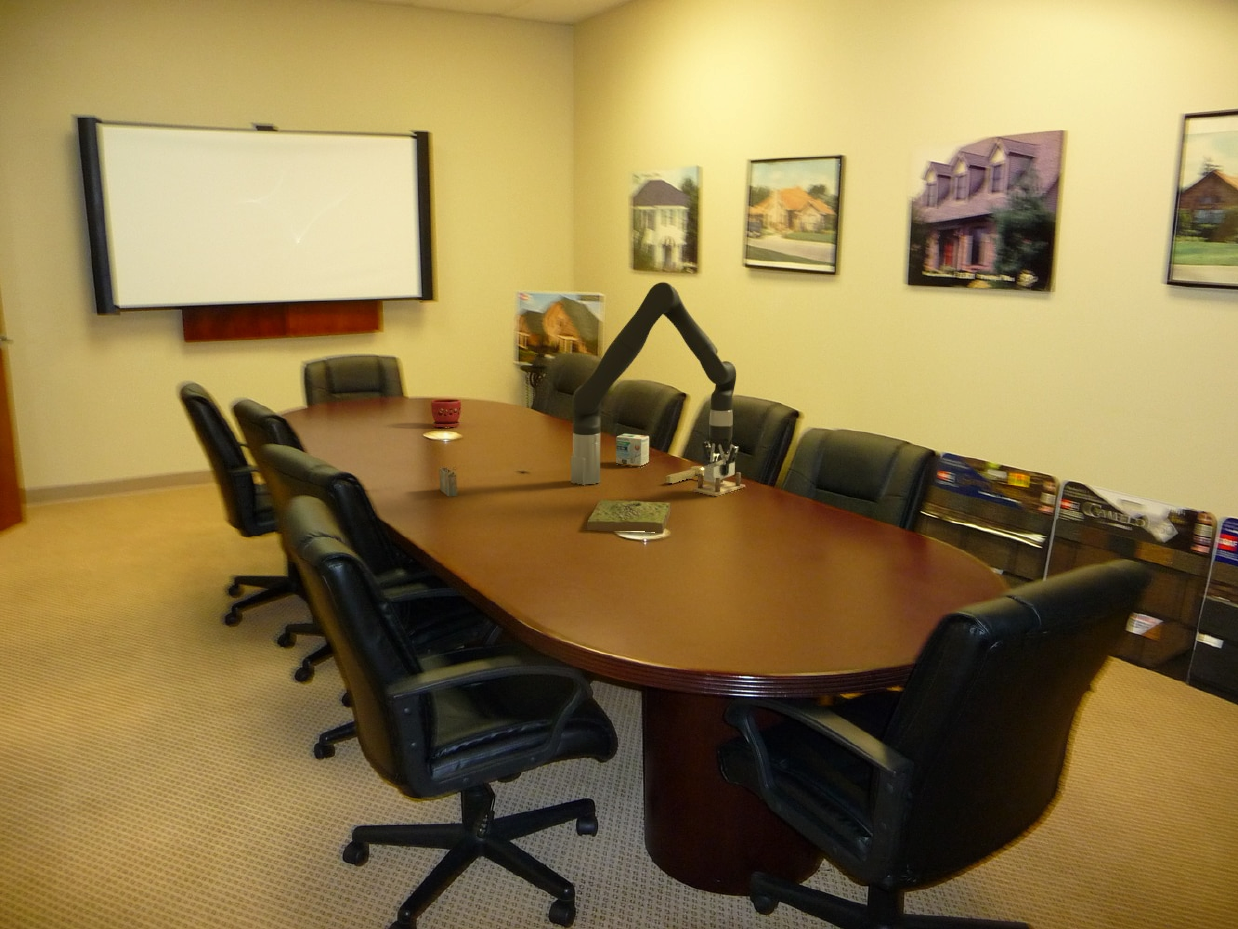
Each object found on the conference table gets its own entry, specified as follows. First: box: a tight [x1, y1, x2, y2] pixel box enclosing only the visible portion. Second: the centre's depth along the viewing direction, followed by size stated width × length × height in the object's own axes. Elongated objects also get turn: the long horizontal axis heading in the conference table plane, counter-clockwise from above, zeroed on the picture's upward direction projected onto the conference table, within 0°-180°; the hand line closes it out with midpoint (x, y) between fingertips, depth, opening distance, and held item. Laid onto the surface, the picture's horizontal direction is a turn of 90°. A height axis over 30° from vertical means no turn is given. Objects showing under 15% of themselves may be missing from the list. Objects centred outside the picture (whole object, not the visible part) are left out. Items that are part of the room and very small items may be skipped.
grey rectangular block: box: [703, 459, 736, 483], centre depth 321 cm, size 14×4×5 cm, turn 145°
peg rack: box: [692, 471, 746, 497], centre depth 322 cm, size 16×10×6 cm, turn 137°
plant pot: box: [430, 398, 462, 429], centre depth 432 cm, size 13×13×12 cm
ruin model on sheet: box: [438, 466, 458, 498], centre depth 316 cm, size 11×3×10 cm, turn 25°
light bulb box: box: [615, 433, 650, 466], centre depth 359 cm, size 11×7×11 cm, turn 62°
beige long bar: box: [665, 465, 704, 484], centre depth 336 cm, size 18×5×3 cm, turn 137°
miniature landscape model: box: [586, 499, 672, 534], centre depth 285 cm, size 22×24×5 cm
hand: (719, 474), depth 322 cm, fingers closed on grey rectangular block, 4 cm apart
